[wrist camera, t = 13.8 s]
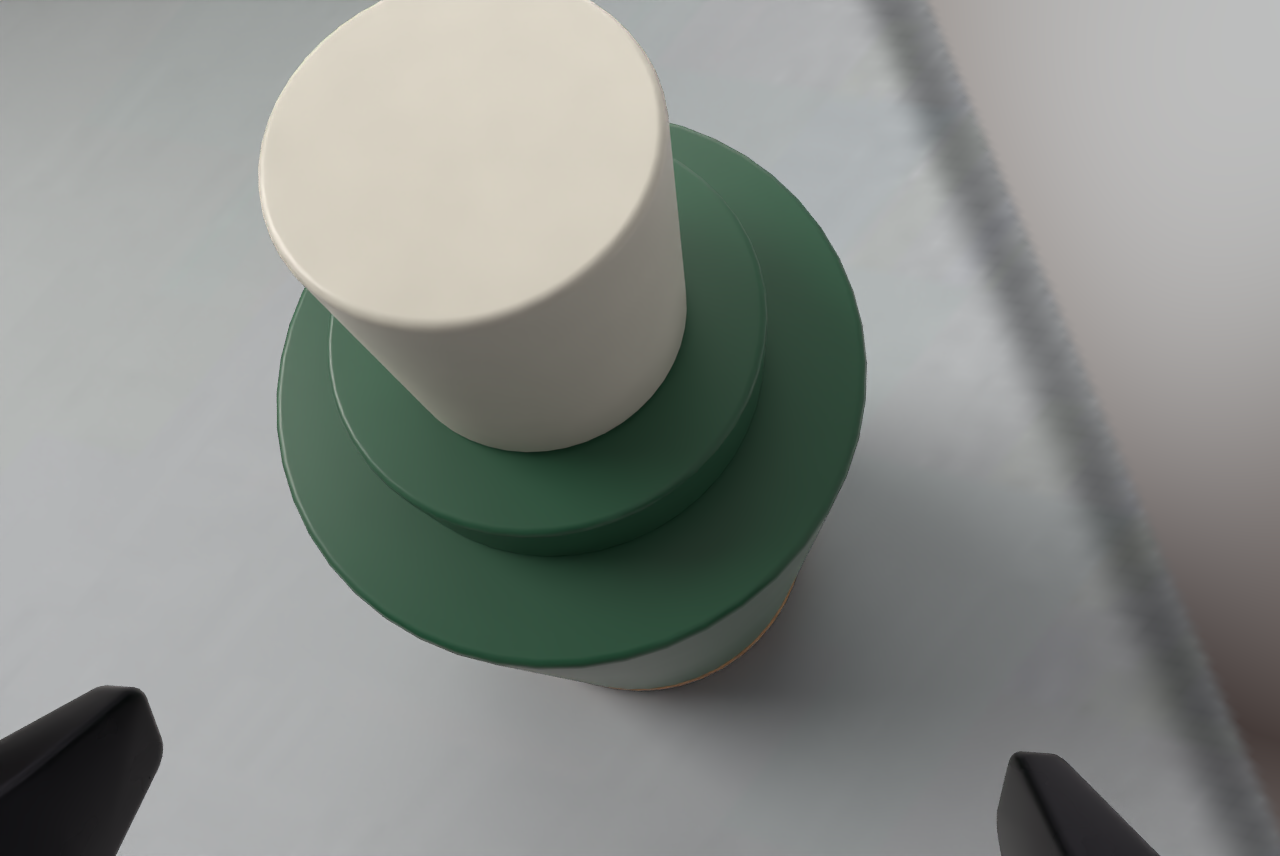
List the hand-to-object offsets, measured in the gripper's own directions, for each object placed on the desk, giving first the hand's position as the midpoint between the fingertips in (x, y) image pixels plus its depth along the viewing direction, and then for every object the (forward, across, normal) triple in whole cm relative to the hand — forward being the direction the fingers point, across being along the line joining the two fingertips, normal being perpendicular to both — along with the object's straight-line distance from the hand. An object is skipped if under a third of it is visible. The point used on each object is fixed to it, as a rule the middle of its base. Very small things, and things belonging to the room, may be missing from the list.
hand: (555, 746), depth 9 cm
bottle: (+7, 0, +2) cm, 7 cm away
